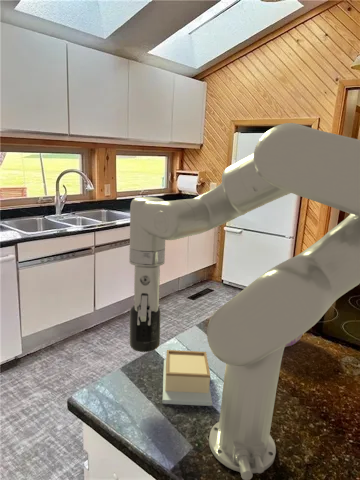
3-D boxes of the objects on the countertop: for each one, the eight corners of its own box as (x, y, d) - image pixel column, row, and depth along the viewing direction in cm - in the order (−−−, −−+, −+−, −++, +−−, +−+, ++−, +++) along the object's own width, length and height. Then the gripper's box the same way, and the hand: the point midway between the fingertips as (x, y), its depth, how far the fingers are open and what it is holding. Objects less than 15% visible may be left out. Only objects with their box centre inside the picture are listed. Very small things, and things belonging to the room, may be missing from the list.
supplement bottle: (161, 339, 82) (163, 290, 80) (157, 354, 76) (159, 302, 73) (133, 336, 83) (134, 288, 81) (125, 351, 76) (126, 299, 74)
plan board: (211, 405, 78) (214, 383, 77) (162, 403, 78) (164, 381, 77) (204, 364, 94) (206, 345, 93) (163, 362, 93) (165, 343, 92)
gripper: (164, 268, 67) (160, 353, 70) (165, 247, 84) (162, 317, 87) (124, 266, 66) (123, 352, 70) (133, 245, 83) (132, 316, 87)
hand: (144, 332), depth 79 cm, fingers closed on supplement bottle, 6 cm apart
